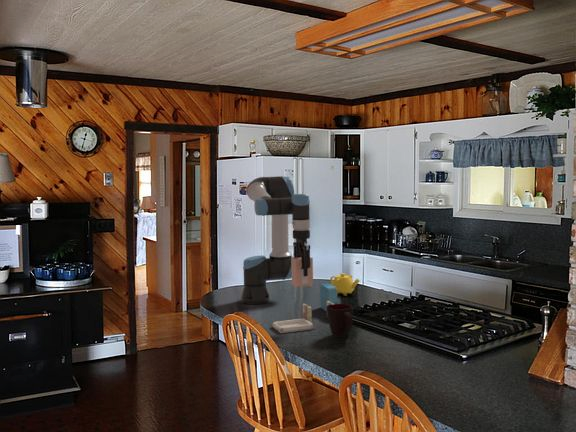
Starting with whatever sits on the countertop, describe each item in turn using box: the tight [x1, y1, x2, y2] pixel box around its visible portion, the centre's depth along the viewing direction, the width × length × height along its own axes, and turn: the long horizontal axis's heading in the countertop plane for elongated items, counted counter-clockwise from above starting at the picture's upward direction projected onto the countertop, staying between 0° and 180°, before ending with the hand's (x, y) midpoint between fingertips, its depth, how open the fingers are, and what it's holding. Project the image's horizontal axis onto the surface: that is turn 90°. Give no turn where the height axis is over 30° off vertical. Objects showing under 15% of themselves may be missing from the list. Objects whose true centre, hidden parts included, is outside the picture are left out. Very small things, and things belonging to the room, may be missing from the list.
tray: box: [271, 317, 315, 334], centre depth 247 cm, size 11×15×2 cm
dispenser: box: [302, 301, 334, 324], centre depth 260 cm, size 8×13×7 cm, turn 110°
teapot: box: [329, 272, 360, 297], centre depth 312 cm, size 14×14×11 cm
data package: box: [319, 283, 338, 313], centre depth 277 cm, size 12×4×12 cm, turn 16°
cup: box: [326, 303, 354, 338], centre depth 233 cm, size 10×14×12 cm
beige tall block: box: [291, 256, 314, 288], centre depth 250 cm, size 5×8×12 cm, turn 112°
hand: (302, 282), depth 250 cm, fingers closed on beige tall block, 5 cm apart
